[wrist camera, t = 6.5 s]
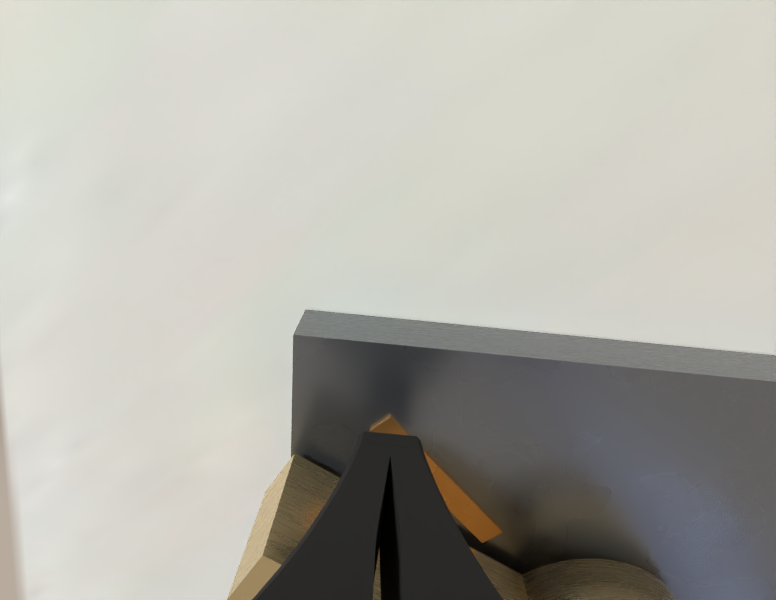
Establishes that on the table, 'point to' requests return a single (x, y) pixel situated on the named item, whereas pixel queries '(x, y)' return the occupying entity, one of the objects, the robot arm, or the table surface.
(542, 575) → the gold elongated piece
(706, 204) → the table surface
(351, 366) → the base plate
